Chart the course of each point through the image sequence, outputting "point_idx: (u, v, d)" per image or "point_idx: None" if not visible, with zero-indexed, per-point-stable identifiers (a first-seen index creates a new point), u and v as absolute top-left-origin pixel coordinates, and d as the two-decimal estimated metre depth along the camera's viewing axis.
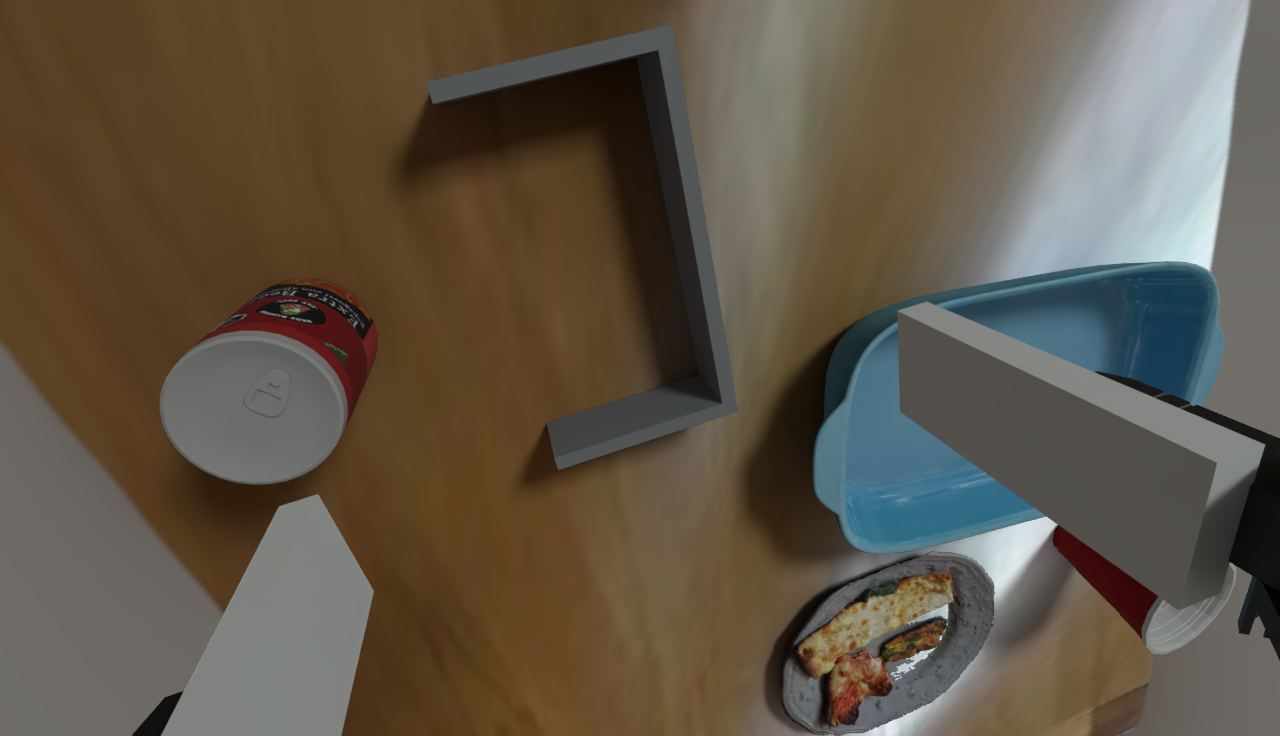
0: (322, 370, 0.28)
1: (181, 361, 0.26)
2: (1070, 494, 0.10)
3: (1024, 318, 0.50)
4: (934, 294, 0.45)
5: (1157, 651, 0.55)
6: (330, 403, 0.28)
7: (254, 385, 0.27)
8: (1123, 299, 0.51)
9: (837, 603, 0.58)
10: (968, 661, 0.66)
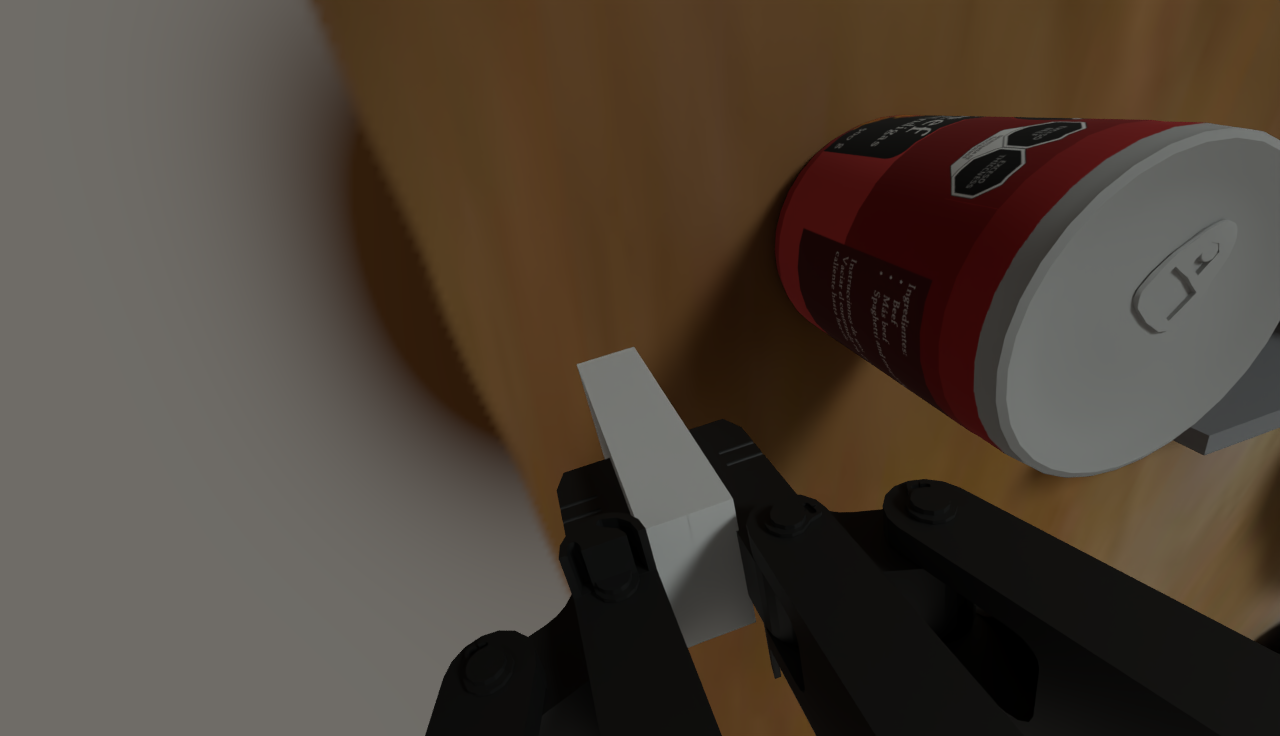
0: None
1: (1117, 184, 0.11)
2: None
3: None
4: None
5: None
6: (1267, 305, 0.13)
7: (1168, 258, 0.12)
8: None
9: None
10: None
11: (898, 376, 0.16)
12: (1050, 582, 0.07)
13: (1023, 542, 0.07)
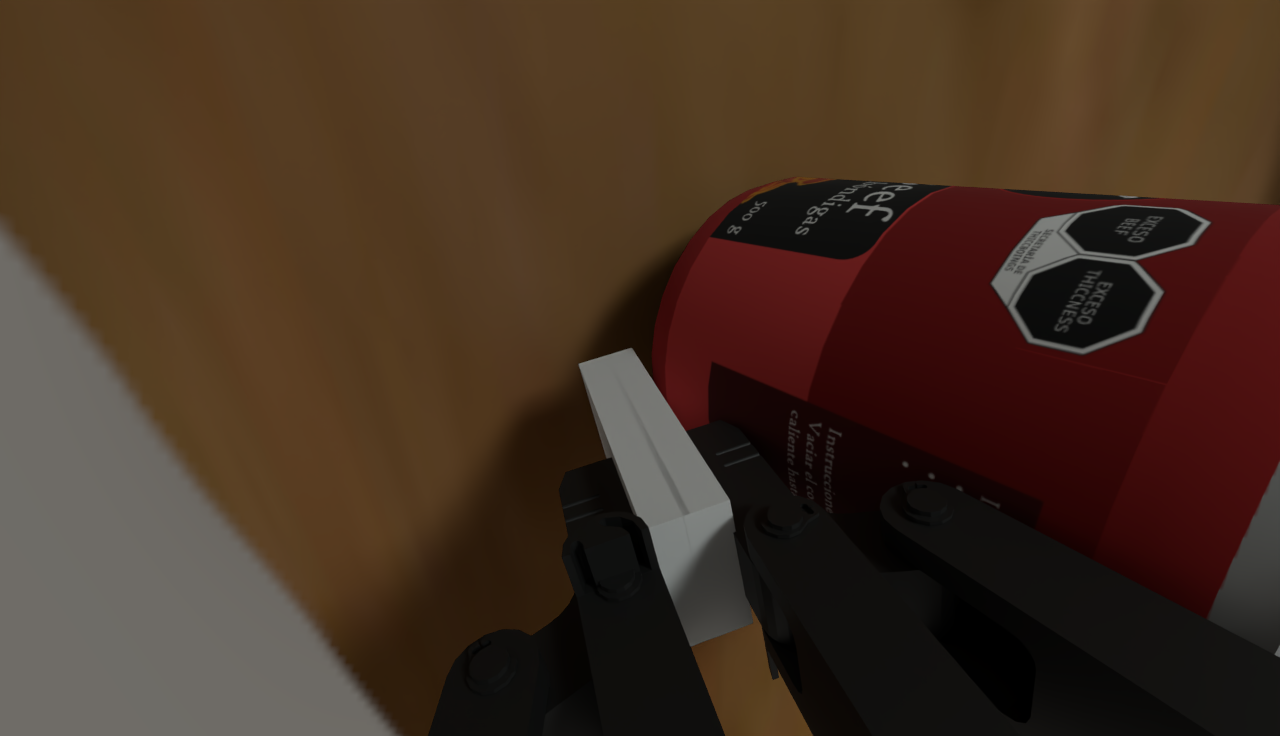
0: None
1: None
2: None
3: None
4: None
5: None
6: None
7: None
8: None
9: None
10: None
11: None
12: (1046, 583, 0.07)
13: (1019, 543, 0.07)
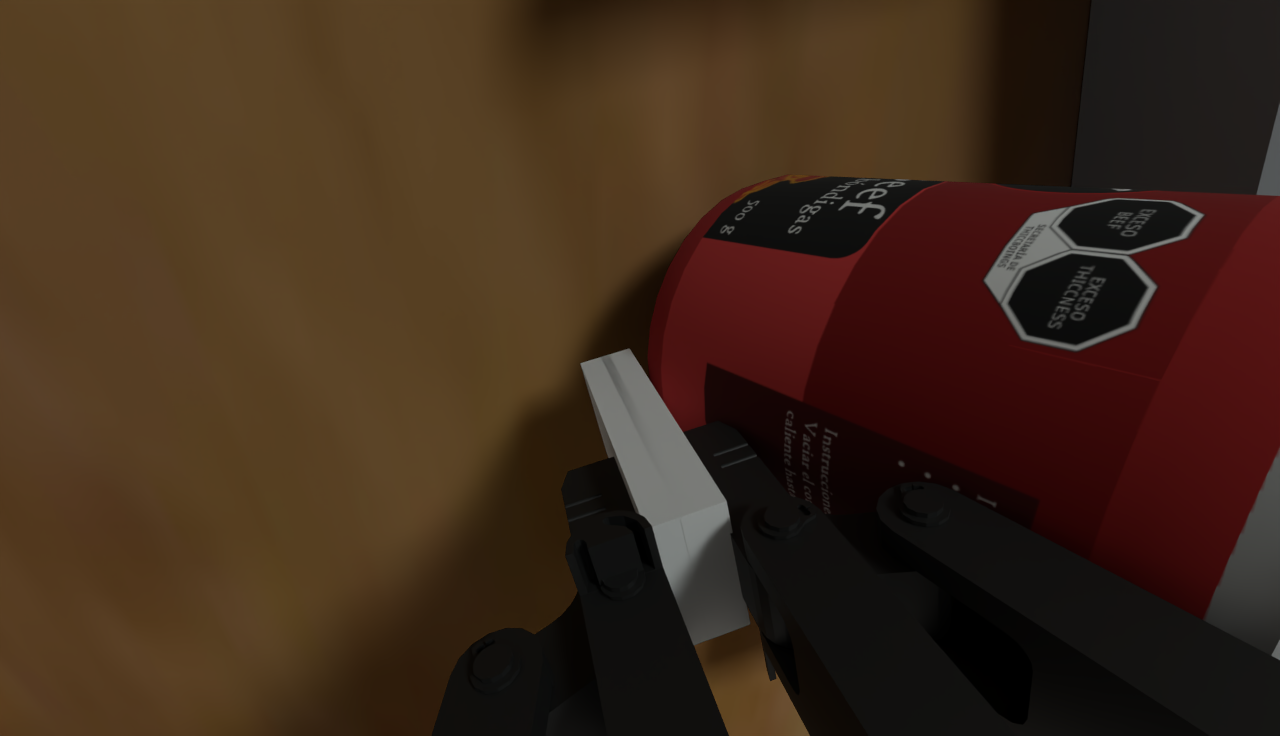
0: None
1: None
2: None
3: None
4: None
5: None
6: None
7: None
8: None
9: None
10: None
11: None
12: (1043, 584, 0.07)
13: (1016, 545, 0.07)
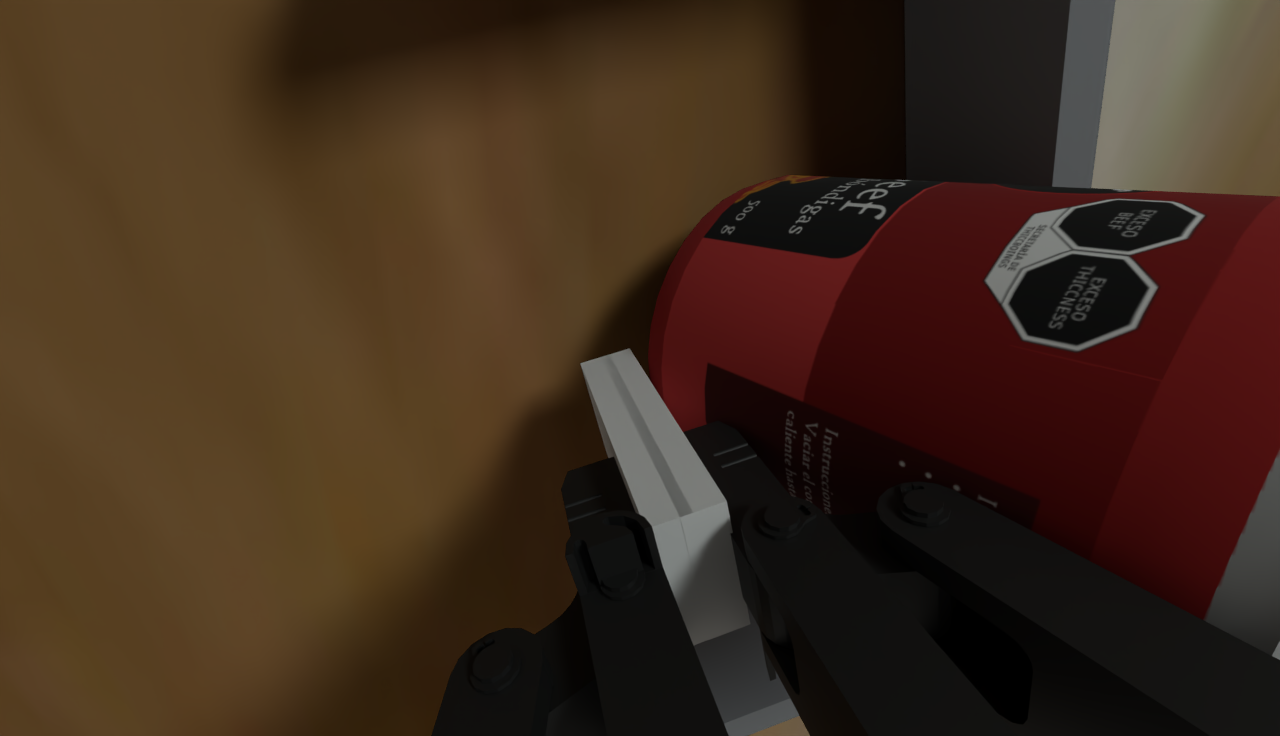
0: None
1: None
2: None
3: None
4: None
5: None
6: None
7: None
8: None
9: None
10: None
11: None
12: (1043, 584, 0.07)
13: (1017, 544, 0.07)
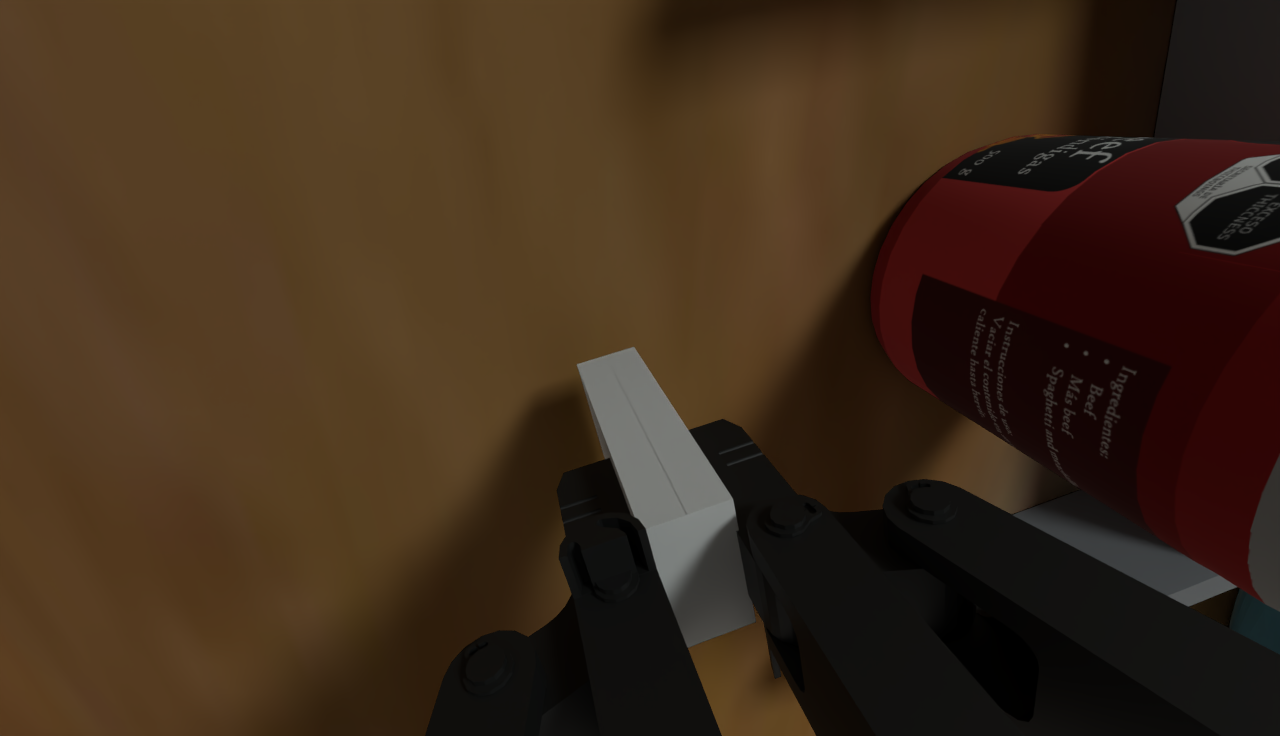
0: None
1: None
2: None
3: None
4: None
5: None
6: None
7: None
8: None
9: None
10: None
11: (1073, 475, 0.13)
12: (1050, 582, 0.07)
13: (1023, 542, 0.07)
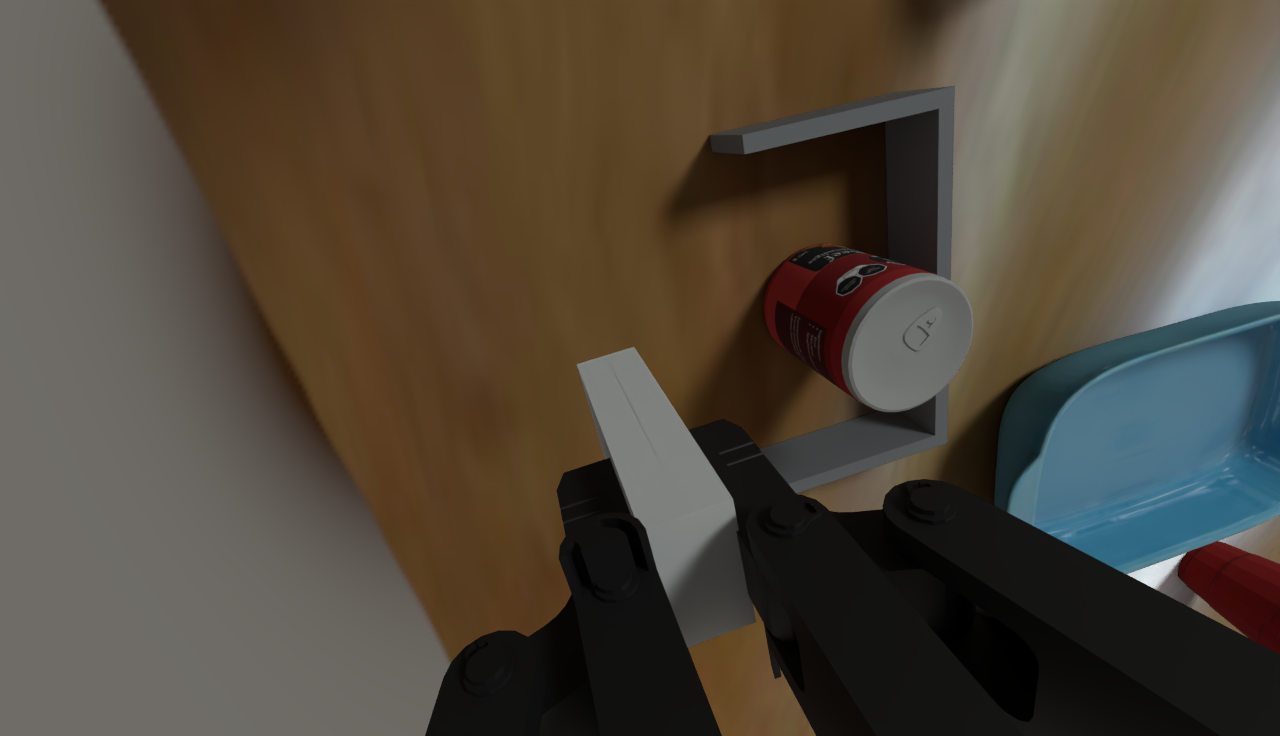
0: (970, 310, 0.32)
1: (884, 296, 0.30)
2: None
3: (1179, 356, 0.52)
4: (1106, 347, 0.47)
5: None
6: (962, 340, 0.33)
7: (915, 322, 0.32)
8: (1271, 330, 0.53)
9: None
10: None
11: (819, 371, 0.36)
12: (1050, 582, 0.07)
13: (1023, 542, 0.07)
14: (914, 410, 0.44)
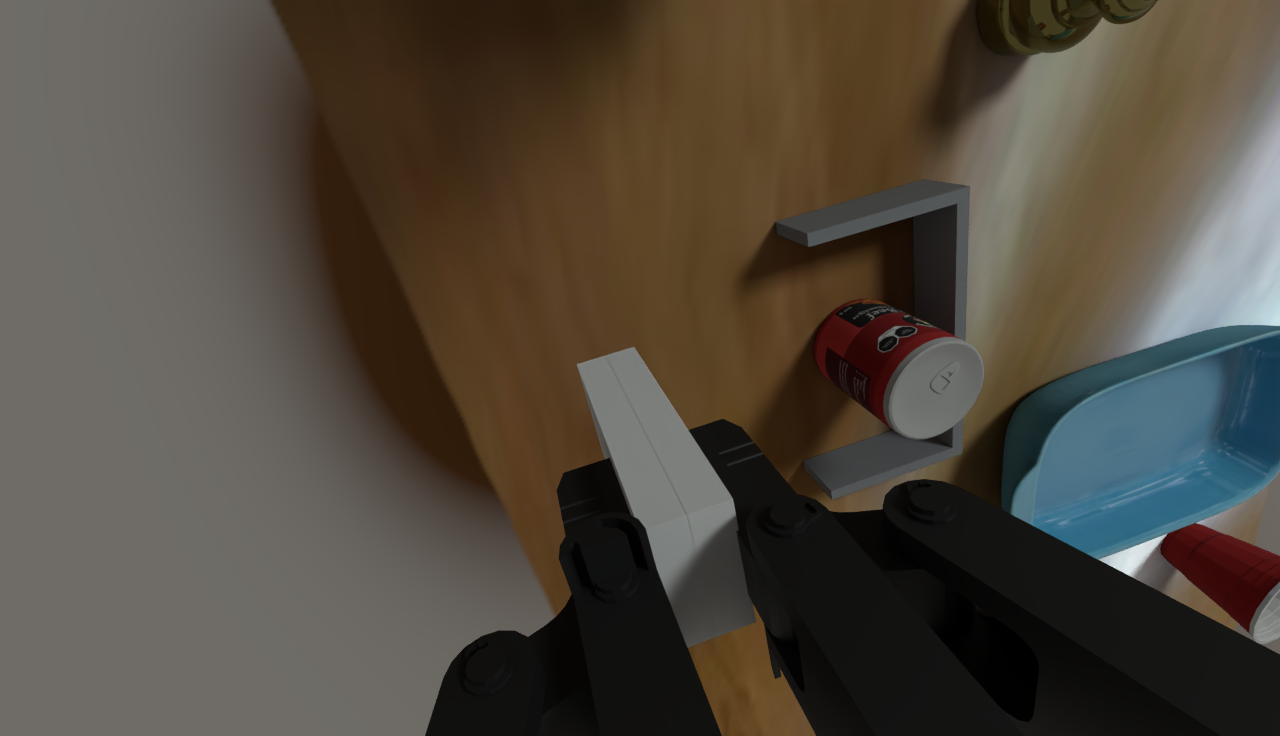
0: (981, 362, 0.42)
1: (917, 357, 0.40)
2: None
3: None
4: (1093, 371, 0.57)
5: (1260, 641, 0.67)
6: (975, 384, 0.43)
7: (939, 372, 0.42)
8: (1238, 347, 0.63)
9: None
10: None
11: (863, 406, 0.46)
12: (1050, 582, 0.07)
13: (1022, 542, 0.07)
14: None
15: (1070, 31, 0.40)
